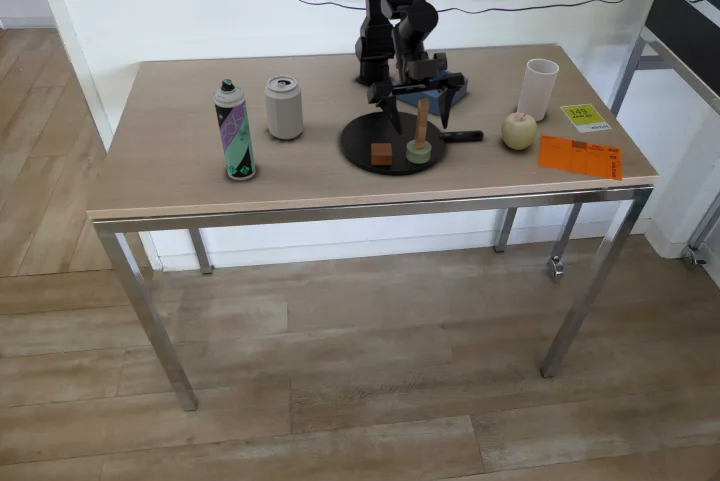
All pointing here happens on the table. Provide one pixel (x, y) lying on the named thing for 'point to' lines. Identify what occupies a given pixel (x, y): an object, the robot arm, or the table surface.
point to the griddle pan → (394, 142)
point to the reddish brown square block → (381, 154)
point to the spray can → (234, 130)
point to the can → (284, 107)
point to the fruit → (518, 130)
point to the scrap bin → (430, 95)
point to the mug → (537, 87)
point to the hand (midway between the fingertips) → (423, 131)
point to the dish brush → (420, 136)
